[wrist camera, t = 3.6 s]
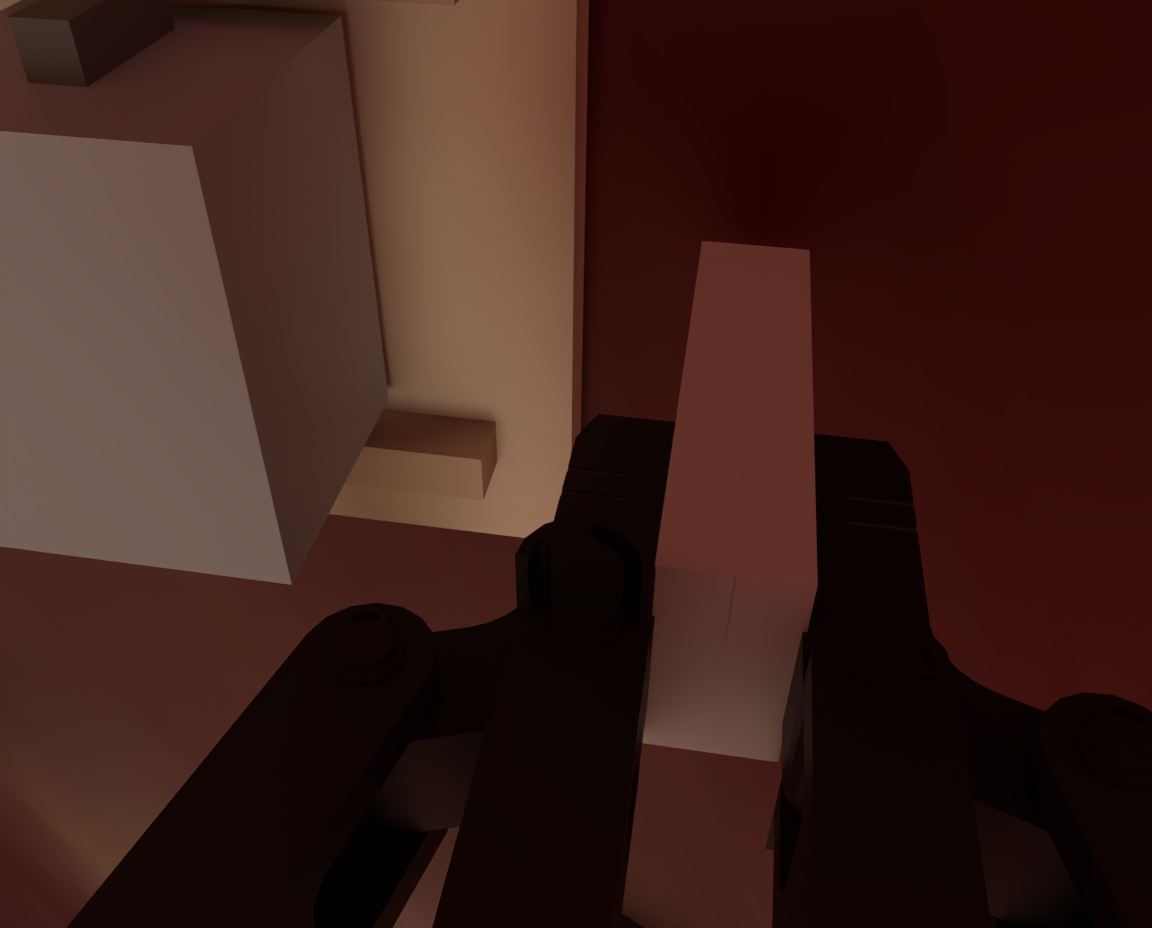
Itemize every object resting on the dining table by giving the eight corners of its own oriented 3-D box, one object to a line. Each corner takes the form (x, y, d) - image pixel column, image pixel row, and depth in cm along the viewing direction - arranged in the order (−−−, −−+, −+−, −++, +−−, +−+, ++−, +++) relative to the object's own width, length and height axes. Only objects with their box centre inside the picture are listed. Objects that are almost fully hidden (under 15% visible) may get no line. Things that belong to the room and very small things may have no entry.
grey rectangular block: (299, -320, 13) (90, -295, 9) (388, 399, 20) (291, 585, 16) (-68, -330, 14) (-407, -309, 10) (143, 372, 21) (-7, 545, 17)
